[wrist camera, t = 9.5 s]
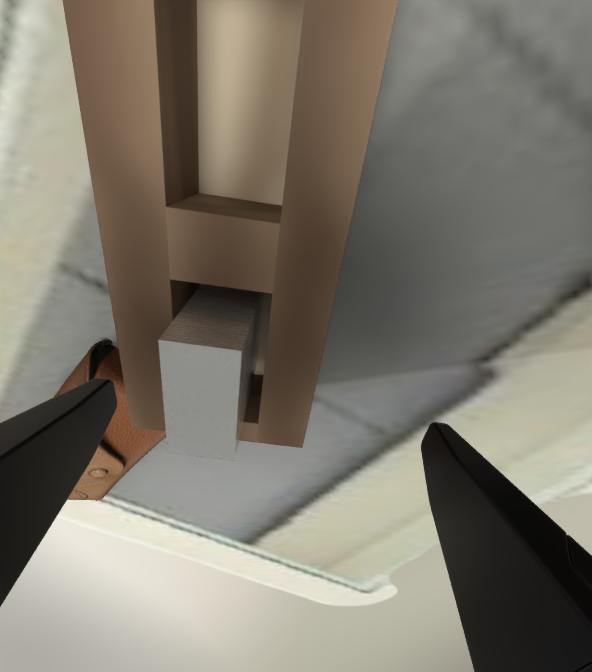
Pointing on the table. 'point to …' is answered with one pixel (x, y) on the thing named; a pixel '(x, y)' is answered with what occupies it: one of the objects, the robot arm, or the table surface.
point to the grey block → (210, 370)
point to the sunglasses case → (109, 427)
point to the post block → (227, 173)
